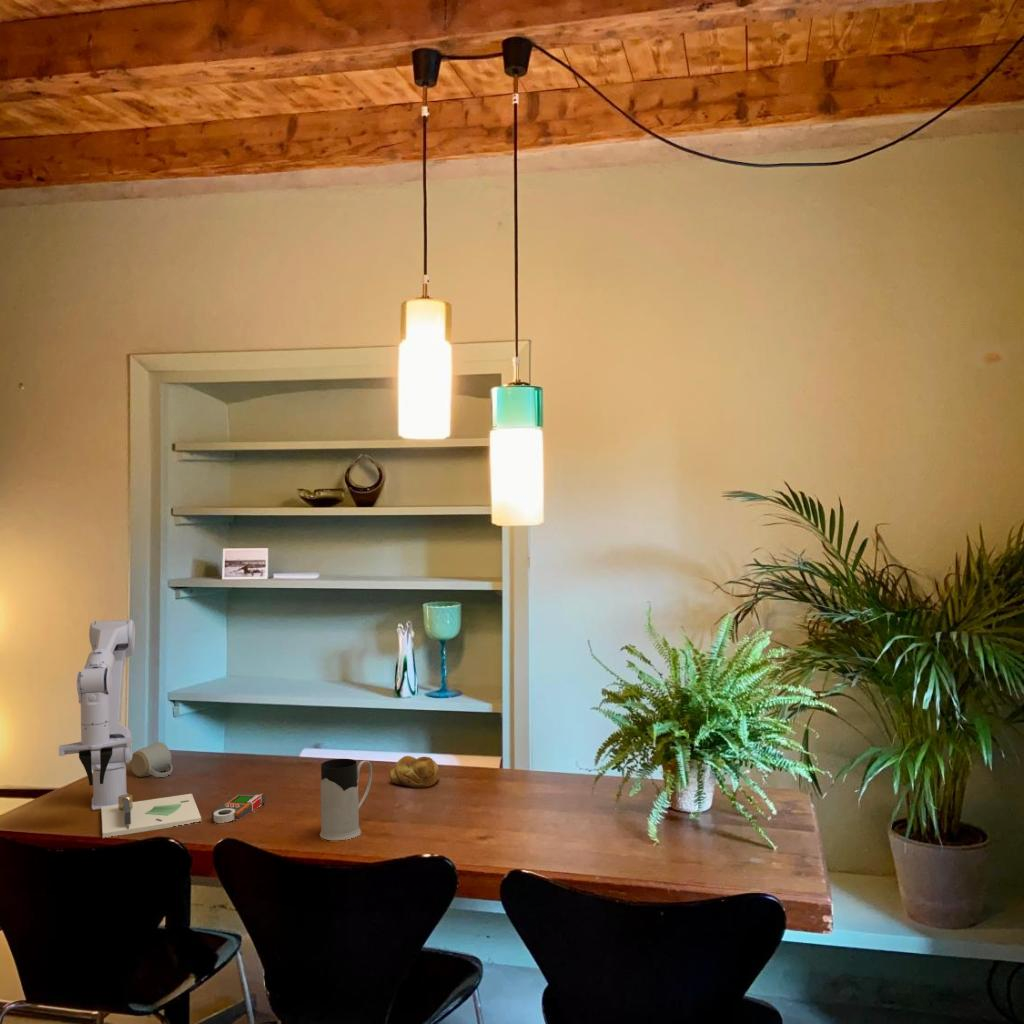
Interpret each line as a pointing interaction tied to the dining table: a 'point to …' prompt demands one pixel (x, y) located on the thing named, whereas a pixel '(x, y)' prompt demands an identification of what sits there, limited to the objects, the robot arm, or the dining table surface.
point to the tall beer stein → (341, 798)
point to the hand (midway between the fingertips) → (96, 783)
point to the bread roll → (415, 772)
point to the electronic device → (238, 806)
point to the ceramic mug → (152, 761)
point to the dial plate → (150, 815)
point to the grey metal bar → (125, 807)
